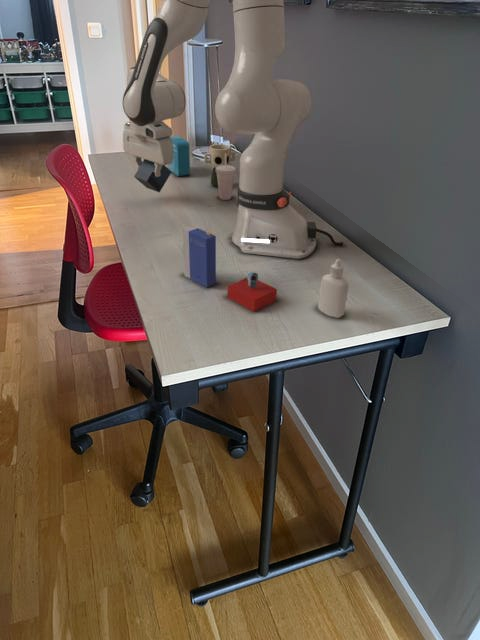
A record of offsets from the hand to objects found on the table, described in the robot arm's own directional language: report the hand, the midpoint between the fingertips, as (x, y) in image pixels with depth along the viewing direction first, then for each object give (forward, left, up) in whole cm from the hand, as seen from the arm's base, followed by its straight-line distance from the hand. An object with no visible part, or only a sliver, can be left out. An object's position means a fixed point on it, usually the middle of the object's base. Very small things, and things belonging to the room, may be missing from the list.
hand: (148, 173), depth 155 cm
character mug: (-13, -24, -9) cm, 29 cm away
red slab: (-52, +44, -9) cm, 69 cm away
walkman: (-38, +41, -9) cm, 57 cm away
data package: (+7, -31, -9) cm, 33 cm away
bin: (-1, -4, -3) cm, 5 cm away
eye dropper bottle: (-69, +42, -9) cm, 81 cm away
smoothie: (-20, -13, -9) cm, 25 cm away
